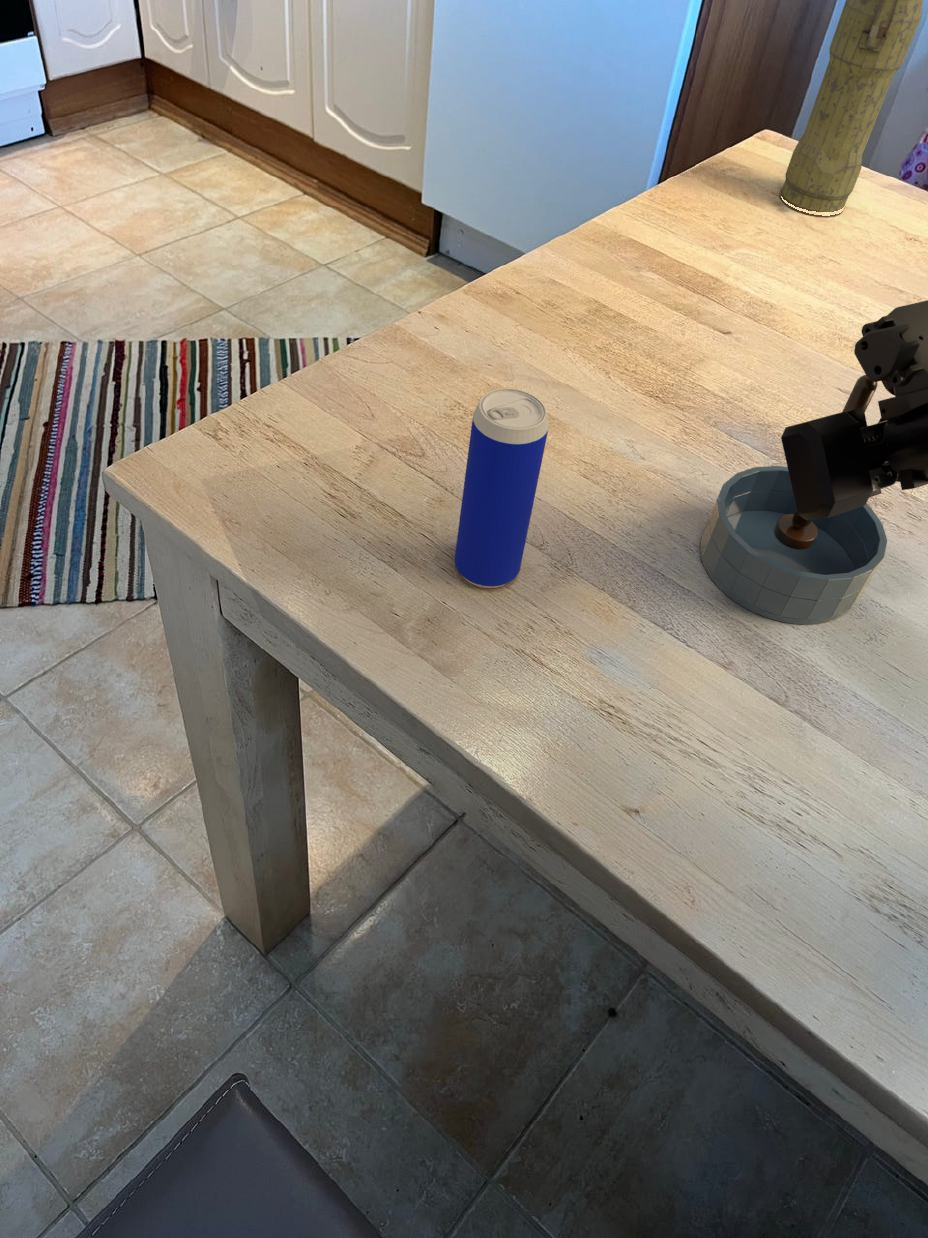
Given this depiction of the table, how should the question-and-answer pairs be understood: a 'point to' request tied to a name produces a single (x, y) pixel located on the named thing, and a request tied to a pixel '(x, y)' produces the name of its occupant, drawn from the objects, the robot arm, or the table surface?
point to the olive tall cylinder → (849, 101)
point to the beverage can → (500, 486)
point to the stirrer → (793, 526)
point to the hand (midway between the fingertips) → (812, 460)
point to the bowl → (787, 552)
